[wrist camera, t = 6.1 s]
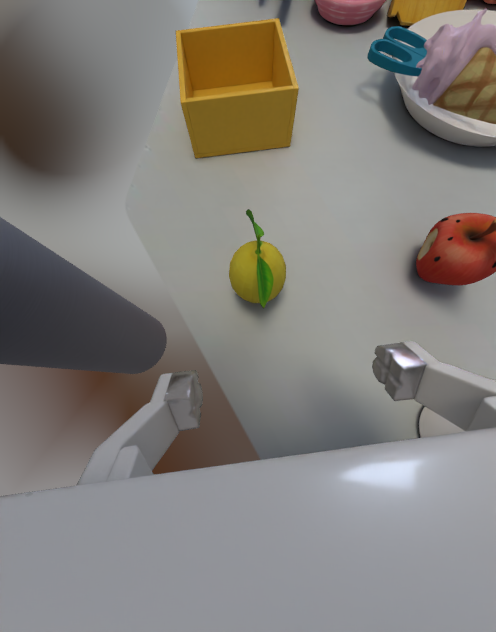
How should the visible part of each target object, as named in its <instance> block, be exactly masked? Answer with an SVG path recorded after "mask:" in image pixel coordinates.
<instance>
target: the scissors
mask: <svg viewBox="0 0 496 632" xmlns="http://www.w3.org/2000/svg"><path fill="white" fill-rule="evenodd" d="M395 39H397V40H400V41H402V42H405V43H407V44H409V45H411V46H413V47H411V46H408V45H406V44H403V43H401V42H399V41H397V40H395ZM426 41H427V40H426V39H425V38H423V37H422V36H420V35H418V34H416V33H414V32H413V31H410V30H408V29H406V28H403V27H399V26H394V27H390V28H388V29H387V30H386V32H385V35H384V37H383V39H379V40H376V41H374V42H373V43H372V44H371V47H370V50H369V53H368V60H369V61H370V62H372V63H373V64H375V65H377V66H379V67H381V68H384V69H386V70H388V71H391V72H394V73H399V74H403V75H408V76H417V77H419V75H420V74H421V71H422V68H416V66H417V64H418V62H419V61H421V60H422V59H424V58H425V57H426V55H427V50H426V49H425V48H424V44H425V42H426ZM414 47H415V48H414ZM378 51H382V52H385V53H387V54H389V55H392V56H394V57H396V58H398V59H399V60H401V61H403V62H401V61H398V60H395V59H393V58H390V57H388V56H386V55H384V54H382V53H380V52H378Z"/></svg>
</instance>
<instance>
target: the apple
mask: <svg viewBox="0 0 496 632" xmlns="http://www.w3.org/2000/svg"><path fill="white" fill-rule="evenodd" d="M416 267H417V272H418V275H419V276H420V277H421V278H422V279H423V280H425V281H427V282H431V283H439V284H447V285H467V284H471V283H475V282H477V281H480V280H482V279H484V278H486V277H488V276H490V275H491V274H493V273H495V272H496V217H493V216H490V215H486V214H479V213H462V214H456V215H451V216H448V217H446V218H444V219H442V220H440V221H439V222H438V223H436V224H435V225H434V227H433V228H432V229H431V230H430V232H429V234H428V236H427V238H426V240H425V242H424V244H423V246H422V248H421V249H420V251H419V254H418V256H417V260H416Z"/></svg>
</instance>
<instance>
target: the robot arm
mask: <svg viewBox="0 0 496 632" xmlns="http://www.w3.org/2000/svg"><path fill="white" fill-rule="evenodd" d="M375 354H376V356H377V357H376V358H375V359H374V361H373V365H372V368H373V373H374V375H375V377H376V379H377V380H378V381H379V382H381V383H383V384H385V390H386V391H387V393H388V394H389V395H390V396H391V398H392V399H393V400H394V401H400V400H409V399H415V401H417V402H419V403H420V404H422V405H424V406H425V407H427V408H428V409H430V410H432V411H433V412H435V413H437V414H438V415H440V416H441V417H443V418H445V419H446V420H448V421H450V422H451V423H453V424H454V425H456V426H458V427H459V428H461V429H463V430H464V431H466V432H459V433H451V434H444V435H437V436H430V437H423V438H415V439H408V440H401V441H394V442H387V443H380V444H373V445H365V446H358V447H351V448H344V449H337V450H329V451H322V452H315V453H308V454H300V455H293V456H286V457H279V458H271V459H264V460H258V461H250V462H243V463H235V464H229V465H221V466H214V467H207V468H200V469H192V470H185V471H178V472H171V473H163V474H156V475H154V474H153V473H152V470H153V468H154V467H155V466H156V464H157V463H158V461H159V460H160V458H161V457H162V456H163V454H164V453H165V452H166V450H167V449H168V447H169V446H170V445H171V443H172V442H173V440H174V439H175V438H176V436H177V434H178V433H179V431H183V430H189V429H195V428H199V425H200V417H201V413H200V410H199V408H200V407H201V406H202V401H203V397H202V388H201V384H199V383H198V374H197V371H195V370H194V371H184V372H175V373H168V374H162V375H161V376H160V377H159V380H158V383H157V386H156V388H155V391H154V393H153V396H152V399H151V401H150V403H148V404H146V405H144V406H143V407H142V408H141V409H140V410H139V411H138V412H137V413H136V414H135V415H133V416H132V417H131V418H130V419H129V420H128V421H127V422H125V423H124V424H123V425H122V426H121V427H120V428H119V429H118V430H116V431H115V432H114V433H113V434H112V435H111V436H110V437H109V438H108V439H106V440H105V442H103V443H102V444H101V445H100V446H99V447H98V448H96V449H95V451H94V453H93V454H92V456H91V458H90V460H89V462H88V464H87V466H86V468H85V470H84V472H83V474H82V475H81V477H80V479H79V481H78V483H77V485H76V486H70V487H63V488H55V489H49V490H41V491H34V492H27V493H20V494H12V495H5V496H0V632H496V381H494V380H491V379H488V378H486V377H483V376H480V375H477V374H475V373H472V372H469V371H466V370H463V369H461V368H458V367H455V366H452V365H450V364H447V363H443V364H442V363H441V362H440V361H438V360H437V359H436V358H435V357H433V356H432V355H431V354H430V353H428V352H427V351H426V350H425V349H423V348H422V347H421V346H420V345H418V344H417V343H416V342H414V341H406V342H400V343H394V344H387V345H380V346H377V347H376V349H375Z"/></svg>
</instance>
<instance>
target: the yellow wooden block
mask: <svg viewBox="0 0 496 632" xmlns="http://www.w3.org/2000/svg"><path fill="white" fill-rule="evenodd" d="M466 1H467V0H392V1H391V4H390V8H389V11H388V15H387V16H388V17H394V16H396V14H397V17H398V20H399V21H400V25H407V26H412V25H413V24H415V23H416V22H418V21H420V20H422V19H424V18H427V17H429V16H432V15H436V14H439V13H443V12H449V11H456V10H463V9H464V6H465V4H466Z"/></svg>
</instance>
